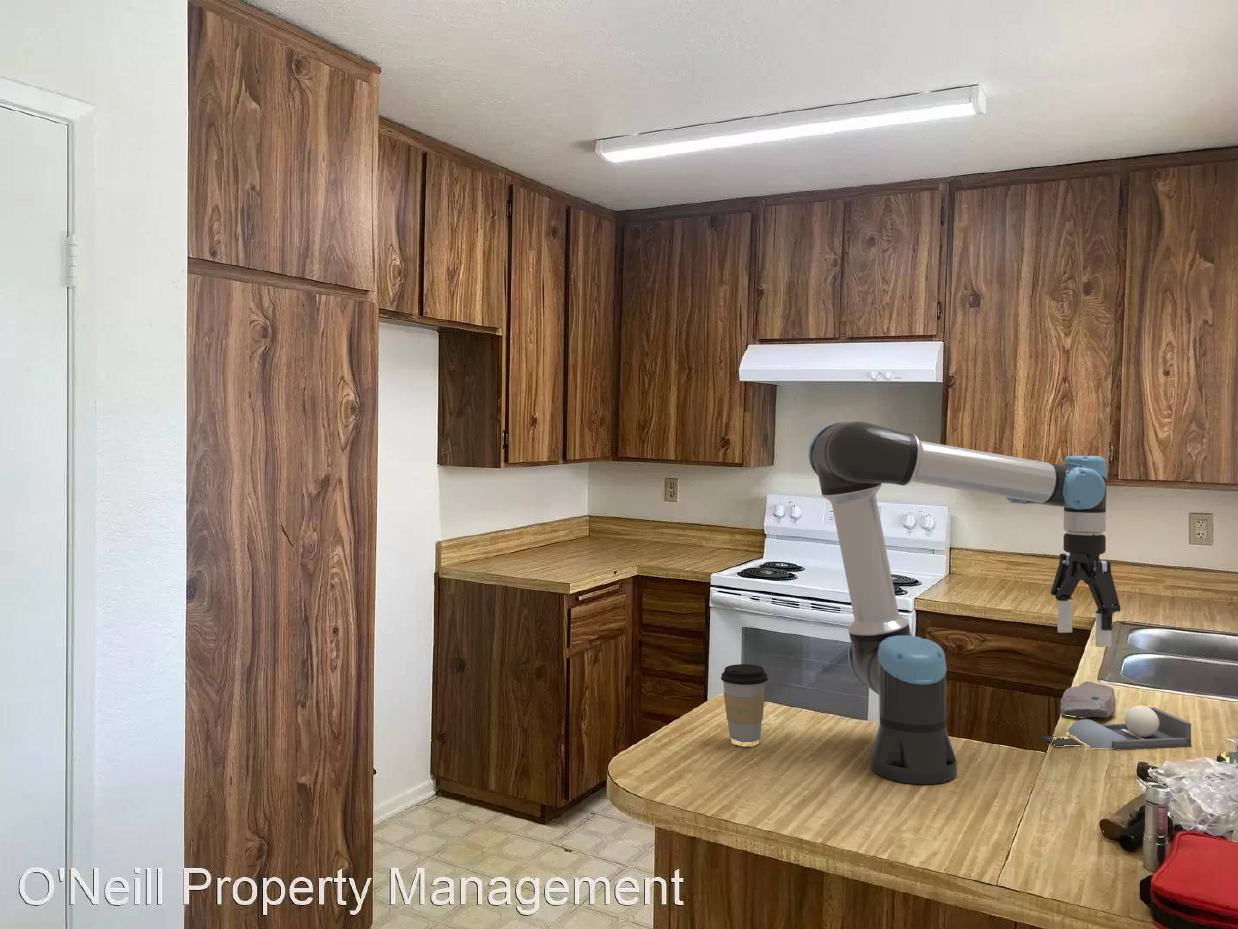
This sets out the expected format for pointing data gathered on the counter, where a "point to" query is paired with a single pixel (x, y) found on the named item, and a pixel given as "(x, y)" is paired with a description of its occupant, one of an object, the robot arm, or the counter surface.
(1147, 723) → the ball
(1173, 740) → the tray
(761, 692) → the coffee cup
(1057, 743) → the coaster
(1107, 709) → the stone
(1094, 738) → the grey wedge
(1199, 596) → the counter surface
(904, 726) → the robot arm
